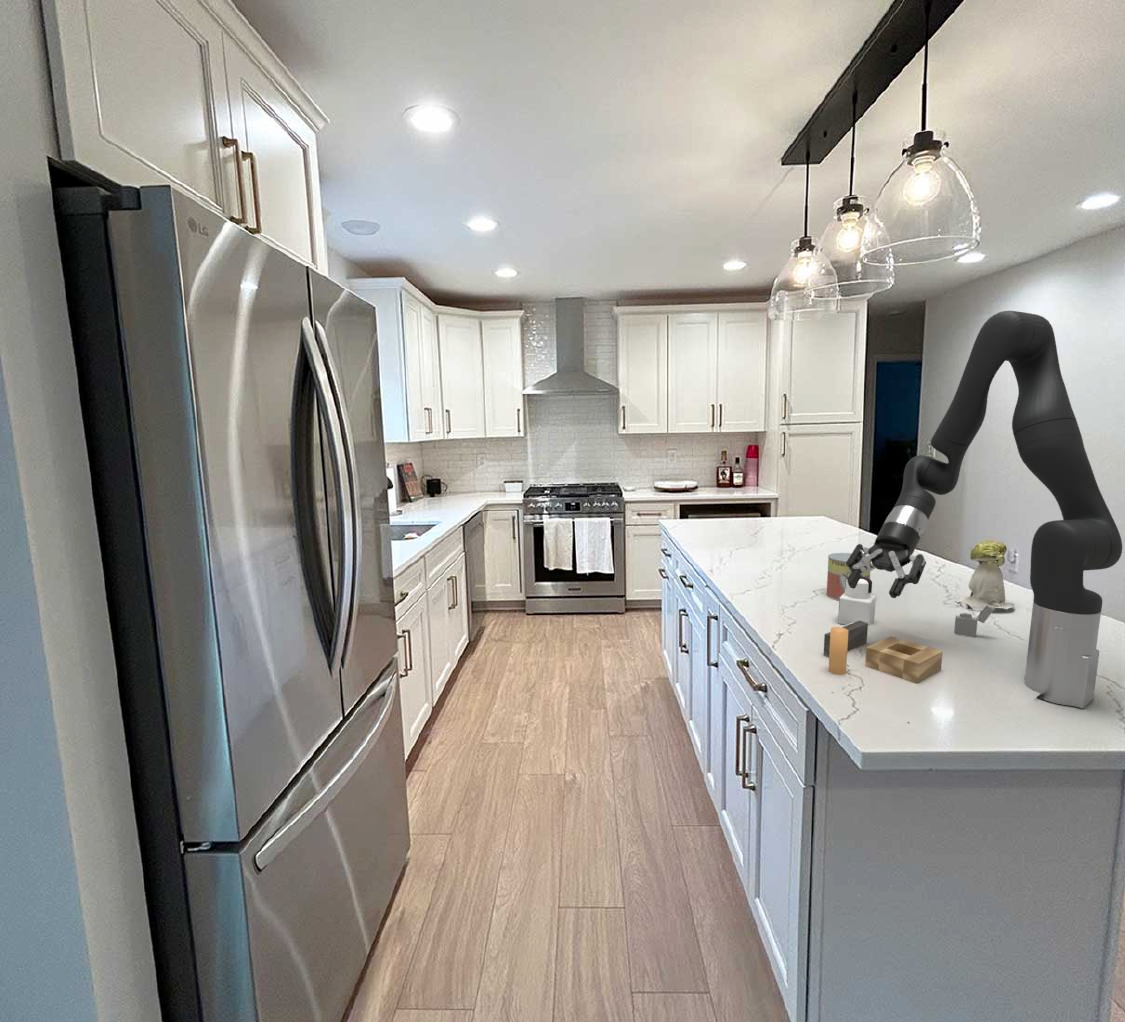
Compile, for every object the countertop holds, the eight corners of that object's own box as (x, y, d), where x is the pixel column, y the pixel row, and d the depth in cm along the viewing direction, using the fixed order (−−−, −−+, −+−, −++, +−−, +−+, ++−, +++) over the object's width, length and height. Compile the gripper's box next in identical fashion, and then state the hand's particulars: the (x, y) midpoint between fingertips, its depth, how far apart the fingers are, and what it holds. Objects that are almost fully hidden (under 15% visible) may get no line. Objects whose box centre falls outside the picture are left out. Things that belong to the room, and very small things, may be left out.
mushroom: (1027, 613, 146) (1034, 545, 144) (979, 614, 146) (985, 546, 143) (991, 599, 158) (997, 536, 155) (947, 600, 158) (952, 537, 155)
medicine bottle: (844, 616, 147) (846, 572, 146) (874, 621, 143) (877, 576, 141) (837, 623, 142) (840, 578, 140) (868, 629, 137) (871, 583, 136)
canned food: (830, 601, 159) (833, 561, 158) (822, 590, 170) (824, 552, 168) (874, 603, 157) (876, 562, 155) (862, 592, 168) (865, 553, 166)
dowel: (848, 677, 112) (851, 630, 111) (840, 681, 111) (842, 634, 109) (833, 671, 115) (836, 625, 114) (825, 675, 113) (827, 629, 112)
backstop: (950, 674, 113) (952, 646, 112) (917, 694, 105) (919, 664, 104) (853, 643, 129) (855, 619, 128) (818, 658, 121) (820, 632, 120)
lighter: (954, 634, 133) (957, 602, 132) (954, 632, 135) (956, 600, 134) (991, 639, 130) (994, 606, 128) (990, 637, 131) (993, 604, 130)
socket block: (941, 669, 112) (942, 651, 111) (917, 683, 107) (918, 663, 106) (889, 653, 120) (890, 636, 120) (865, 665, 115) (866, 647, 114)
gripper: (863, 516, 125) (832, 574, 121) (932, 525, 113) (901, 589, 109) (874, 536, 129) (844, 592, 124) (942, 546, 117) (912, 609, 113)
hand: (870, 591), depth 117 cm, fingers open, 8 cm apart
